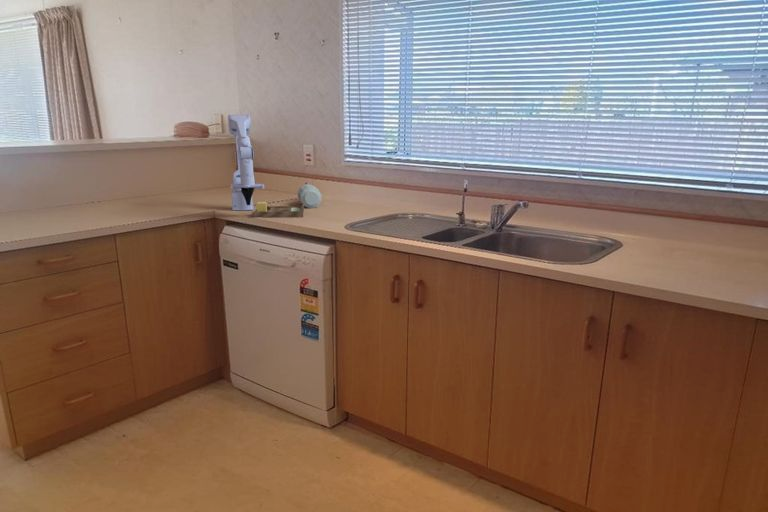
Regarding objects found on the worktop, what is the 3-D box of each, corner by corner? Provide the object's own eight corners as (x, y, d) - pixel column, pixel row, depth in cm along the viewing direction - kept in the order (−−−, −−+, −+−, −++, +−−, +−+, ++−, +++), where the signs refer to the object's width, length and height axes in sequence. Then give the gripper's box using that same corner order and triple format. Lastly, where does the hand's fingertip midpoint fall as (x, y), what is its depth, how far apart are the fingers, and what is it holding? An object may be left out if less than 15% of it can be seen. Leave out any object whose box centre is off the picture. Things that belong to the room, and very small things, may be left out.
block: (256, 212, 241) (256, 203, 240) (257, 210, 245) (257, 202, 244) (266, 212, 242) (265, 203, 241) (266, 210, 246) (266, 201, 244)
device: (322, 208, 263) (321, 187, 261) (301, 209, 261) (300, 187, 258) (312, 198, 292) (311, 179, 290) (293, 199, 290) (293, 180, 287)
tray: (253, 217, 240) (253, 208, 239) (257, 211, 253) (256, 203, 252) (302, 217, 242) (302, 208, 241) (303, 211, 255) (303, 203, 254)
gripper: (228, 175, 234) (230, 206, 237) (262, 175, 235) (264, 206, 239) (231, 173, 240) (233, 203, 244) (264, 173, 242) (265, 203, 246)
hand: (248, 204), depth 242 cm, fingers closed
